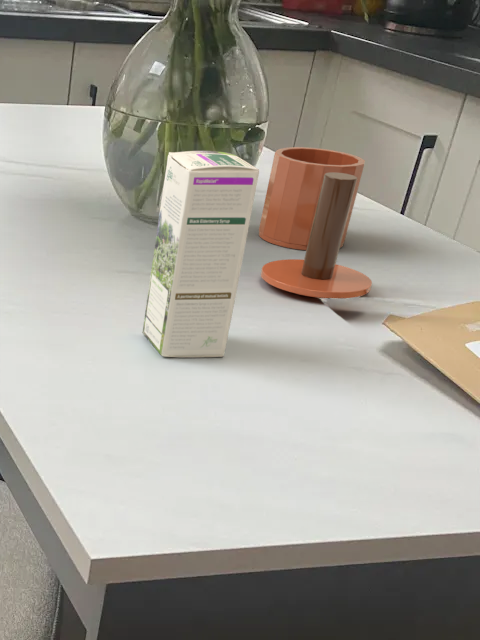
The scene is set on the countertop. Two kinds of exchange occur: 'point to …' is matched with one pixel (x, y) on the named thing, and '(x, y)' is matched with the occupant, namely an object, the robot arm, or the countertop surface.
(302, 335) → the countertop surface
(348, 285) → the lid
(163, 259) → the syrup box
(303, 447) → the countertop surface
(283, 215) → the jar
